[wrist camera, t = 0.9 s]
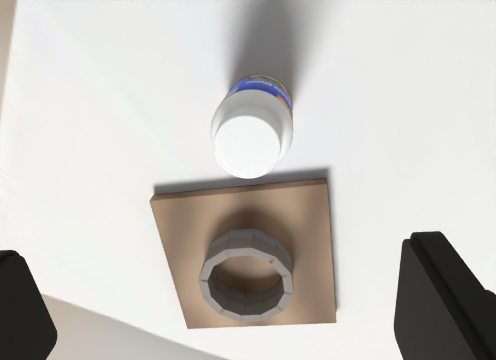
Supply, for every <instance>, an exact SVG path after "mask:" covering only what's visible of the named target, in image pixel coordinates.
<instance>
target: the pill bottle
mask: <svg viewBox="0 0 496 360" xmlns="http://www.w3.org/2000/svg"><path fill="white" fill-rule="evenodd" d="M211 137H212V141H213V147H214V153H215V156H216V159H217V160H218V162H219V164H220V165H221V166H222V167H223V168H224V169H225V170H226V171H227V172H229V173H230V174H232V175H234V176H237V177H240V178H256V177H260V176H262V175H264V174H266V173H268V172H269V171H270V170H271V169H272V168H273V167H274V166H275V165H276V163H278V162H279V161H280V160H281V159H282V158H283V157H284V156H285V155H286V153H287V152H288V150H289V148H290V146H291V143H292V138H293V114H292V102H291V98H290V95H289V93H288V91H287V90H286V88H285V87H284V86H283V85H282V84H281V83H280V82H279V81H278V80H276V79H274V78H272V77H270V76H266V75H251V76H248V77H246V78H244V79H242V80H240V81H239V82H237V83H236V84H235V85H234V86H233V87H232V89H231V90H230V91H229V93H228V94H227V95H226V97H225V98H224V100H223V101H222V102H221V104H220V105H219V106H218V108H217V110H216V112H215V114H214V116H213V119H212V123H211Z"/></svg>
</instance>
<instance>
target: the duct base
mask: <svg viewBox="0 0 496 360" xmlns="http://www.w3.org/2000/svg"><path fill="white" fill-rule="evenodd" d="M150 205H151V208H152V211H153V215H154V218H155V221H156V225H157V228H158V231H159V235H160V238H161V241H162V245H163V248H164V251H165V255H166V258H167V261H168V265H169V268H170V271H171V275H172V278H173V281H174V285H175V288H176V291H177V295H178V298H179V301H180V305H181V308H182V312H183V315H184V318H185V322H186V325H187V328H188V329H195V328H219V327H244V326H269V325H293V324H318V323H336V309H335V294H334V278H333V263H332V248H331V233H330V218H329V202H328V187H327V181H326V178H322V179H312V180H302V181H292V182H281V183H271V184H261V185H251V186H240V187H230V188H220V189H210V190H199V191H189V192H179V193H169V194H158V195H153V197H152V198H151V200H150Z"/></svg>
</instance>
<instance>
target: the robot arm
mask: <svg viewBox="0 0 496 360" xmlns="http://www.w3.org/2000/svg"><path fill="white" fill-rule="evenodd" d="M394 333H395V338H396V341H397V344H398V346H399V349H400V352H401V354H402V357H403V360H496V295H495V294H494V293H493V292H491V291H489V290H485V289H484V287H483V286H482V285H481V283H480V282H479V281H478V279H477V278H476V277H475V276H474V274H473V273H472V272H471V270H470V269H469V268H468V266H467V265H466V264H465V262H464V261H463V260H462V258H461V257H460V256H459V254H458V253H457V252H456V250H455V249H454V248H453V246H452V245H451V244H450V243H449V241H448V240H447V239H446V237H445V236H444V235H443V234H442V233H441V232H439V231H434V232H414V233H412V235H411V237H410V239H405V240H404V241H403V244H402V252H401V261H400V271H399V280H398V290H397V299H396V309H395V318H394ZM56 341H57V330H56V328H55V326H54V323H53V321H52V319H51V317H50V314H49V312H48V310H47V308H46V305H45V303H44V301H43V299H42V297H41V294H40V292H39V290H38V288H37V285H36V283H35V281H34V279H33V276H32V274H31V272H30V270H29V267H28V265H27V263H26V261H25V259H24V258H23V257H22V256H20V255H19V253H17V252H16V251H14V250H1V251H0V360H46V359H47V357H48V355H49V354H50V352H51V351H52V349H53V348H54V346H55V344H56Z"/></svg>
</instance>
